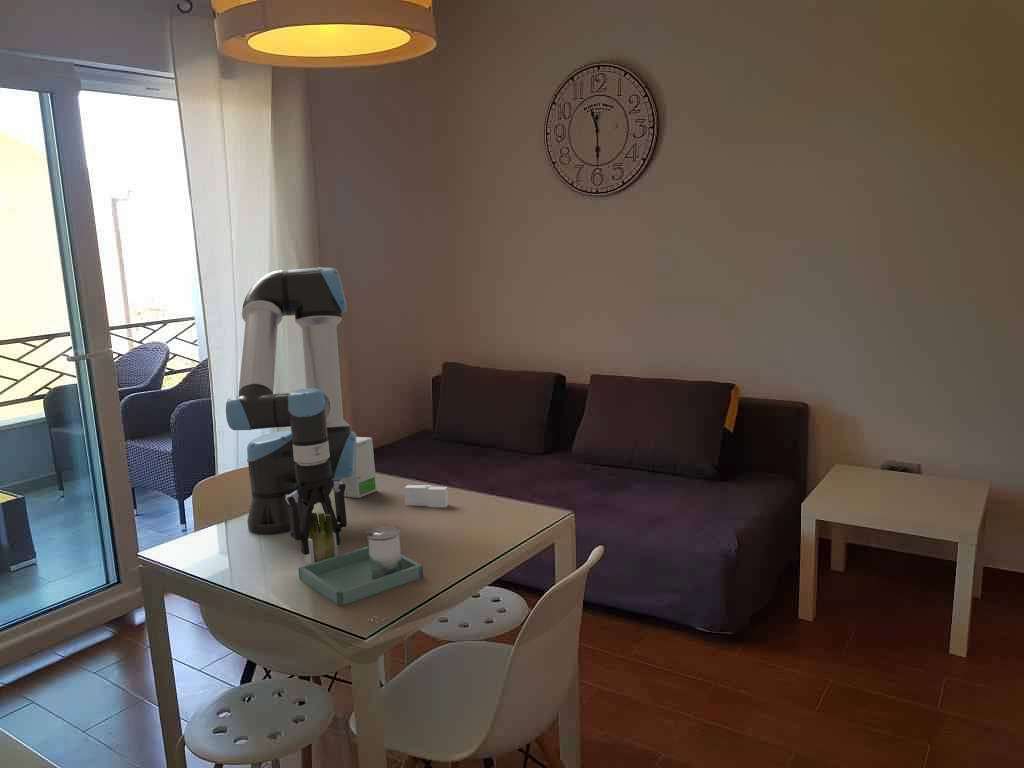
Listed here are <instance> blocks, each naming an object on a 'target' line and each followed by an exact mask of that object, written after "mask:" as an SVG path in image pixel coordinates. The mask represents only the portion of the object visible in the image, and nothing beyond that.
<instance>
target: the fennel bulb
mask: <svg viewBox="0 0 1024 768" xmlns="http://www.w3.org/2000/svg"><path fill="white" fill-rule="evenodd" d="M309 538H310V539H312V541H313V551H314V561H315V562H318V561H322V560H325V559H328V558H331V557H334V551H335V546H334V537H333V531H332V517H331V515H330V514H327V515H325V513H324V512H319V513H317V512H312V517H311V525H310V532H309Z"/></svg>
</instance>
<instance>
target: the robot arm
mask: <svg viewBox="0 0 1024 768" xmlns="http://www.w3.org/2000/svg"><path fill="white" fill-rule="evenodd" d="M241 310H242V311H241V317H242V320H243V321H244V323H245V324H244V332H243V333H244V334H243V345H242V355H241V363H240V365H241V366H240V375H239V383H238V385H239V386H238V395H237V396H233V397H229V398H228V399H227V401H226V402H225V417H226V422H227V425H228V427H229V428H230V429H231V430H232V431H252V430H263V429H274V428H287V427H290V430H280V431H279V430H277V431H274V432H271V433H267V434H263V435H260V436H257V437H255V438H253V439H252V440H250V441H249V443H248V444H247V447H246V450H247V451H246V453H247V455H246V456H247V459H246V462H247V466H248V474H249V482H250V491H251V504H250V507H249V512H248V515H247V529H248V531H249V532H250V533H253V534H257V535H277V534H285V533H288V532H289V533H290V537H291V538H292V539H294V540H296V541H300V543H299V544H300V552H301V553H302V554H303V555H304V556H305V563H306V564H305V565H309V564H312V563H315V561H314V551H313V541H312V539H310V538H309V532H310V525H311V517H312V513H313V510H314V508H315V505H317V504H319V503H320V505H321V508H322V509H323V510H322V511H323V513H324V514H325V515H327V514H330V515H331V517H332V531H333V537H334V546H335V551H334V557H335V556H338V555H339V552H338V546H340V544H341V538H340V537H341V535H340V533H341V532H342V528H343V529H344V528H346V527H347V526H348V522H347V512H346V502H345V496H344V492H345V487H346V485H345V484H343V483H341V481H337V480H341V479H344V478H349V477H351V476H352V475H353V473H354V469H355V460H356V437H357V433H356V432H354V431H352V430H351V426H350V424H349V423H348V422H347V421H345V419H344V412H343V411H344V410H343V400H342V399H343V398H342V385H341V372H340V371H341V370H340V357H339V343H338V333H337V330H338V329H337V327H338V325H339V323H341V321H342V320H343V318H342V316H343V315H342V314H344V313H346V312H347V310H348V307H347V302H346V296H345V291H344V287H343V283H342V278H341V275H340V272H339V271H338V270H337V269H336V268H334V267H321V266H318V267H309V268H297V269H295V268H293V269H278V270H274V271H271V272H269V273H267V274H264V275H263V276H262V277H260V278H259V279H258V280H257V281H256V282H255V283H254V284H253V285H252V286H251V288H250V289H249V291H248V293H246V296H245V297H244V300H243V304H242V309H241ZM285 316H290V317H291V316H294V317H295V318H294V321H295V323H296V324H297V325H298V326H299V327H300V328H301V332H302V333H301V334H302V344H303V345H302V348H303V361H304V374H305V388H299V389H295V390H293V391H290V392H287V393H285V392H284V393H274V387H275V371H276V355H277V338H278V326H279V325H280V324H281V322H282V320H283V317H285ZM332 491H333V497H334V507H335V510H334V508H333V506H332V500H331V496H330V495H331V492H332Z"/></svg>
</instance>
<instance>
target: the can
mask: <svg viewBox="0 0 1024 768" xmlns="http://www.w3.org/2000/svg"><path fill="white" fill-rule="evenodd" d="M366 538H367V540H366V541H367V546H368V552H369V563H370V574H371V581H372V580H375V579H378V578H381V577H383V576H386V575H389V574H392V573H395V572H398V571H401V570H402V564H401V555H402V554H401V543H400V528H398V527H394V526H380V527H379V526H378V527H374V528H372V529H370V530H368V531H367V532H366Z"/></svg>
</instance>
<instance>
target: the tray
mask: <svg viewBox="0 0 1024 768" xmlns="http://www.w3.org/2000/svg"><path fill="white" fill-rule="evenodd" d="M401 564H402V570H401V571H398V572H395V573H392V574H389V575H386V576H383V577H381V578H378V579H375V580H372V581H371V574H370V563H369V552H368V545H367V546H364V547H361V548H358V549H355V550H352V551H349V552H344V553H342V554H338V556H335V557H331V558H328V559H325V560H322V561H318V562H315V563H312V564H305V565H302V566H298V576H299V580H300V581H302V582H303V583H304V584H306V585H307V586H309V587H310V588H312V589H313V590H315V591H317V592H318V593H319V594H321V596H324V597H326V599H328V600H329V601H330V602H333V603H334V604H335V605H337V606H338V607H341V606H344V605H348V604H350V603H353V602H356V601H359V600H361V599H365V598H367V597H368V598H369V597H370V596H373V595H376V594H379V593H382V592H385V591H388V590H391V589H393V588H397V587H399V586H402V585H404V584H408V583H410V582H413V581H417V580H419V579H423V578H424V567H423V564H421V563H419V562H417V561H415V560H413V559H411V558H409V557H407V556H405V555H403V554H401Z"/></svg>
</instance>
